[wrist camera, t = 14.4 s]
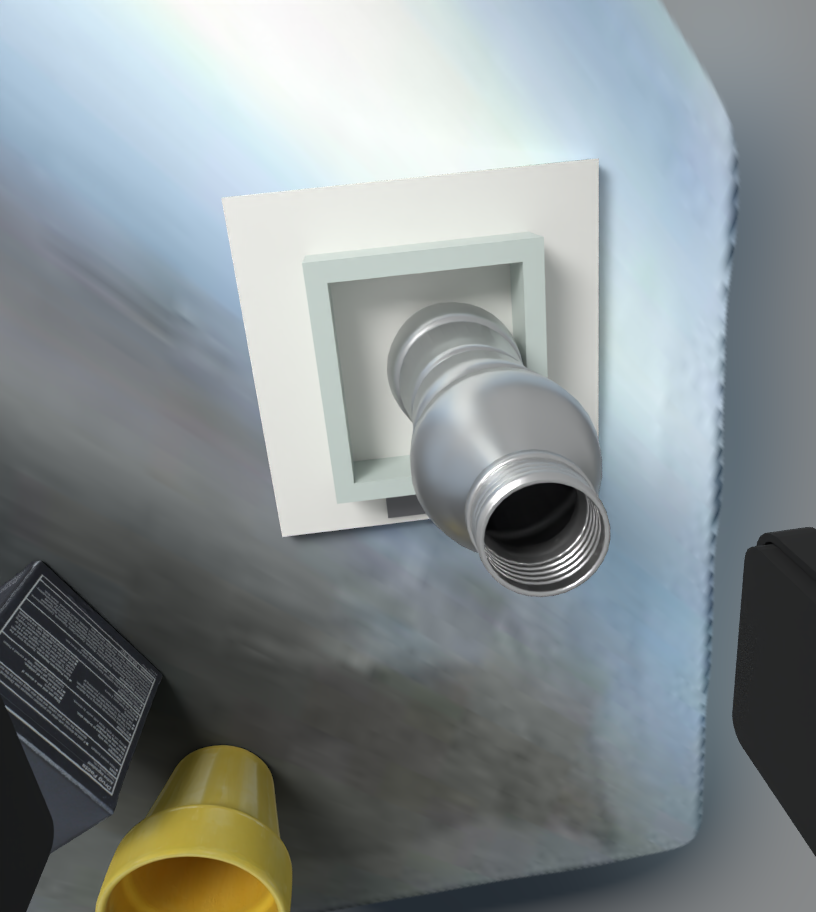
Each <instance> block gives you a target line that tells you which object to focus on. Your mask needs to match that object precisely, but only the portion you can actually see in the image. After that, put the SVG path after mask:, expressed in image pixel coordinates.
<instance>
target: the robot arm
mask: <svg viewBox="0 0 816 912" xmlns="http://www.w3.org/2000/svg"><path fill="white" fill-rule="evenodd" d="M742 587H743V588H742V599H741V612H740V624H739V636H738V649H737V662H736V674H735V687H734V700H733V712H732V717H733V724H734V728H735V732H736V735H737V738H738V740H739V742H740V744H741V746H742V747H743V749H744V750H745V752H746V753H747V755H748V756H749V758H750V759H751V761H752V762H753V764H754V765H755V767H756V768H757V770H758V771H759V773H760V774H761V776H762V777H763V778H764V780H765V781H766V783H767V784H768V786H769V788H770V789H771V791H772V792H773V794H774V795H775V796H776V798H777V799H778V801H779V802H780V804H781V805H782V807H783V808H784V810H785V811H786V813H787V814H788V816H789V817H790V819H791V820H792V822H793V823H794V825H795V826H796V828H797V829H798V831H799V832H800V834H801V835H802V837H803V838H804V840H805V841H806V843H807V844H808V846H809V847H810V849H811V850H812V852H813V853H814V855H815V856H816V529H815V528H813V527H805V528H798V529H791V530H784V531H777V532H770V533H765V534H763V535H762V536H760V538H759V540H758V542H757V546H755V547H751V548H749V549H748V550H747V552H746V555H745V561H744V573H743V586H742ZM53 839H54V825H53V820H52V816H51V814H50V811H49V809H48V807H47V804H46V802H45V799H44V797H43V795H42V792H41V790H40V788H39V785H38V783H37V780H36V778H35V776H34V773H33V771H32V768H31V766H30V764H29V761H28V759H27V757H26V754H25V752H24V749H23V747H22V745H21V742H20V740H19V738H18V735H17V733H16V730H15V728H14V726H13V723H12V721H11V718H10V716H9V714H8V711H7V709H6V707H5V704H4V702H3V699H2V697H1V695H0V912H26V911H27V908H28V906H29V903H30V901H31V899H32V896H33V894H34V891H35V889H36V886H37V884H38V882H39V879H40V877H41V874H42V872H43V869H44V867H45V864H46V862H47V860H48V857H49V855H50V852H51V849H52V845H53Z"/></svg>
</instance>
